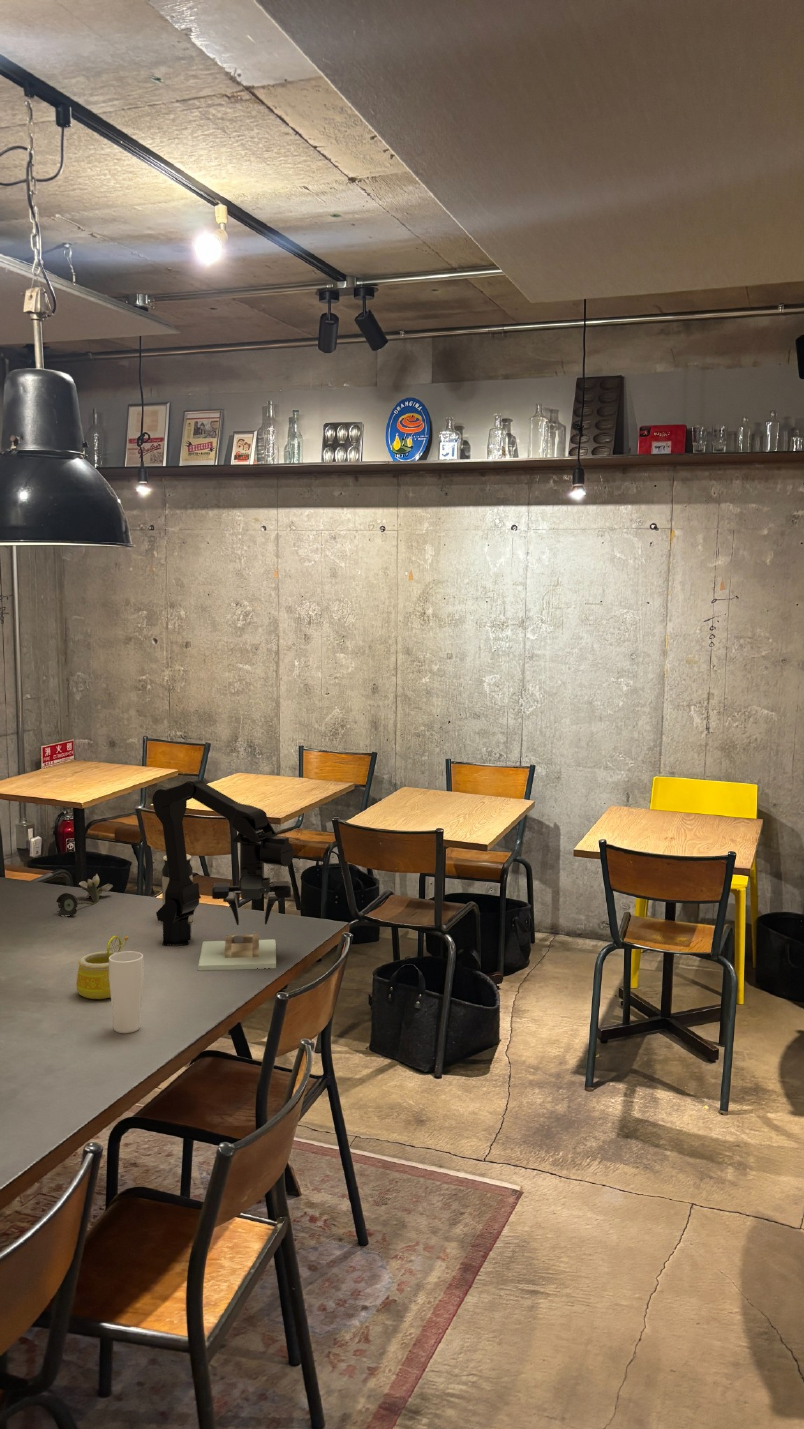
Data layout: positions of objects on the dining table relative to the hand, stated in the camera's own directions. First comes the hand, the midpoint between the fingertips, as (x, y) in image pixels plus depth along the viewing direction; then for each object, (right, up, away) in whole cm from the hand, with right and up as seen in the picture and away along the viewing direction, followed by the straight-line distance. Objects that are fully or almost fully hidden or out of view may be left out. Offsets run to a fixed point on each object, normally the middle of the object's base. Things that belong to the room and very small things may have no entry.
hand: (251, 924), depth 251 cm
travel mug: (-24, -5, +28) cm, 37 cm away
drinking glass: (-19, -12, -44) cm, 49 cm away
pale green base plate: (-3, -8, 0) cm, 9 cm away
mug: (-28, -10, -24) cm, 39 cm away
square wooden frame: (-2, -7, 0) cm, 7 cm away
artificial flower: (-54, -4, +42) cm, 69 cm away
